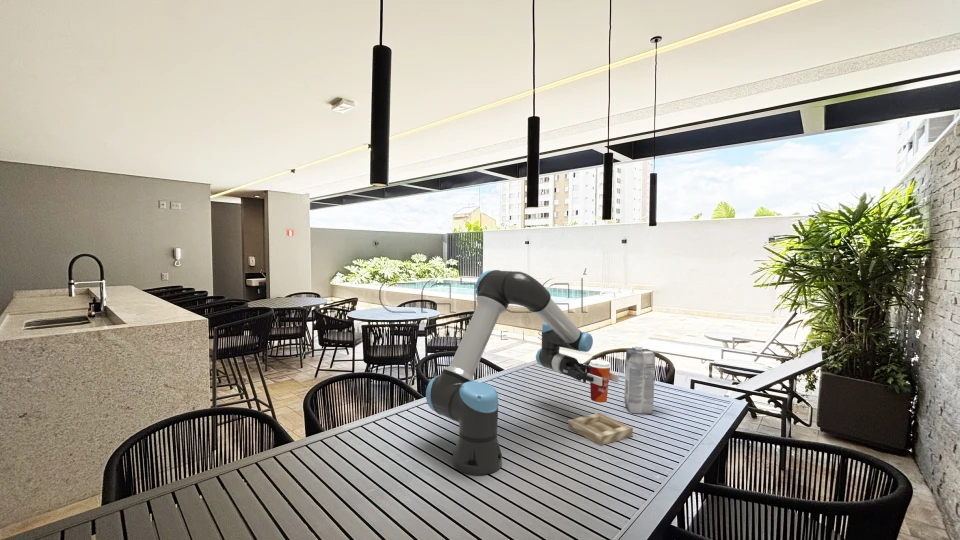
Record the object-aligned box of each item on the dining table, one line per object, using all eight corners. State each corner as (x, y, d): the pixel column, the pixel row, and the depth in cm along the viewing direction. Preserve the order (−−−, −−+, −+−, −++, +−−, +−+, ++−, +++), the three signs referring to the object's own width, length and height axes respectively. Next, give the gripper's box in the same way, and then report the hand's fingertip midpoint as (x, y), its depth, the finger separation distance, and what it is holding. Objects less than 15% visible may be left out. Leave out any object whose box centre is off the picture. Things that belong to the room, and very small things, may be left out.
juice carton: (655, 415, 168) (657, 349, 167) (629, 414, 168) (631, 349, 167) (646, 407, 177) (649, 345, 176) (622, 406, 177) (624, 344, 176)
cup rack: (600, 445, 139) (600, 436, 139) (568, 427, 153) (568, 420, 153) (632, 436, 147) (632, 428, 147) (599, 420, 161) (599, 412, 161)
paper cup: (605, 405, 144) (606, 365, 144) (584, 400, 149) (585, 361, 148) (612, 399, 150) (614, 361, 150) (592, 394, 155) (594, 358, 154)
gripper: (584, 371, 170) (629, 386, 150) (545, 377, 160) (588, 395, 140) (584, 353, 170) (629, 366, 150) (546, 358, 159) (589, 373, 140)
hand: (609, 380), depth 145 cm, fingers closed on paper cup, 8 cm apart
